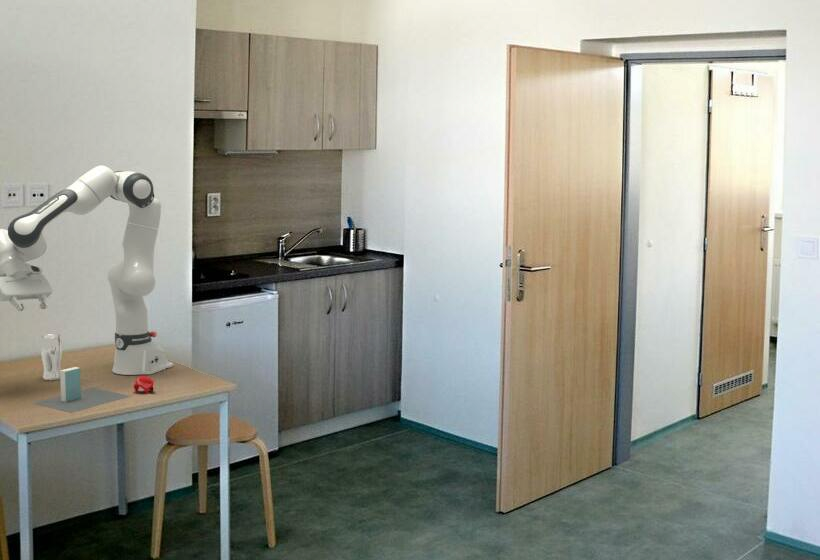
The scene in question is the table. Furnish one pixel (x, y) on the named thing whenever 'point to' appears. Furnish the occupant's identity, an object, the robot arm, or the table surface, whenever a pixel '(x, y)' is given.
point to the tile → (70, 384)
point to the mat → (83, 400)
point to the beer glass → (51, 355)
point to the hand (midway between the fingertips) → (33, 309)
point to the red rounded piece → (144, 384)
